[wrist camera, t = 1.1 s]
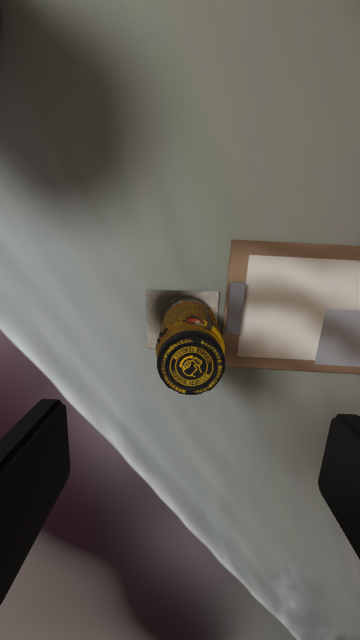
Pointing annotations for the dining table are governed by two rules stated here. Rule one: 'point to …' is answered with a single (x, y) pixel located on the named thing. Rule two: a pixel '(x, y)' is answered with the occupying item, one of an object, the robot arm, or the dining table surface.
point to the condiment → (186, 339)
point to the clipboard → (293, 307)
